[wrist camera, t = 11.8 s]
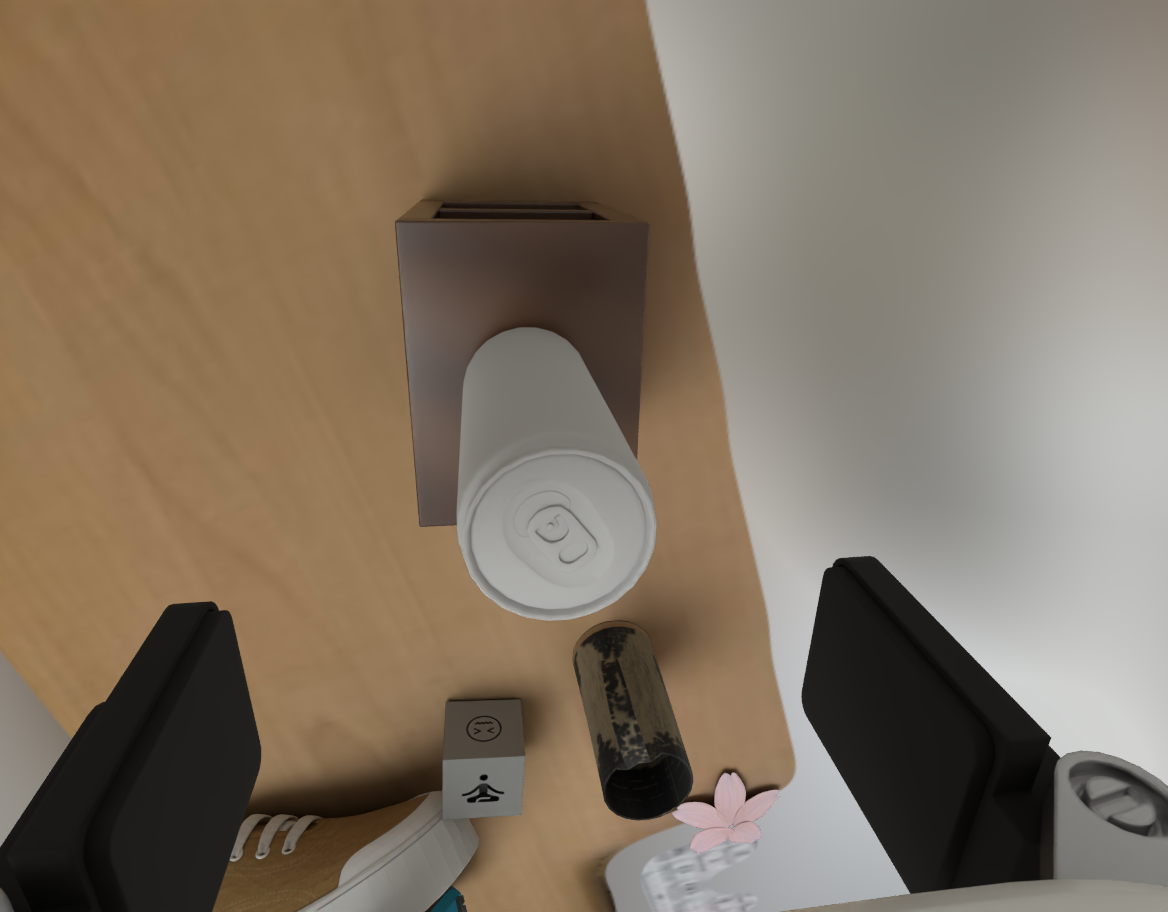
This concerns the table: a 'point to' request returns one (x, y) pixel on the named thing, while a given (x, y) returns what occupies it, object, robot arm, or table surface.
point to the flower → (726, 814)
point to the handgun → (449, 902)
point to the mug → (631, 722)
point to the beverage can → (547, 482)
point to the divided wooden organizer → (513, 311)
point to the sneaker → (347, 860)
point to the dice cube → (483, 759)
